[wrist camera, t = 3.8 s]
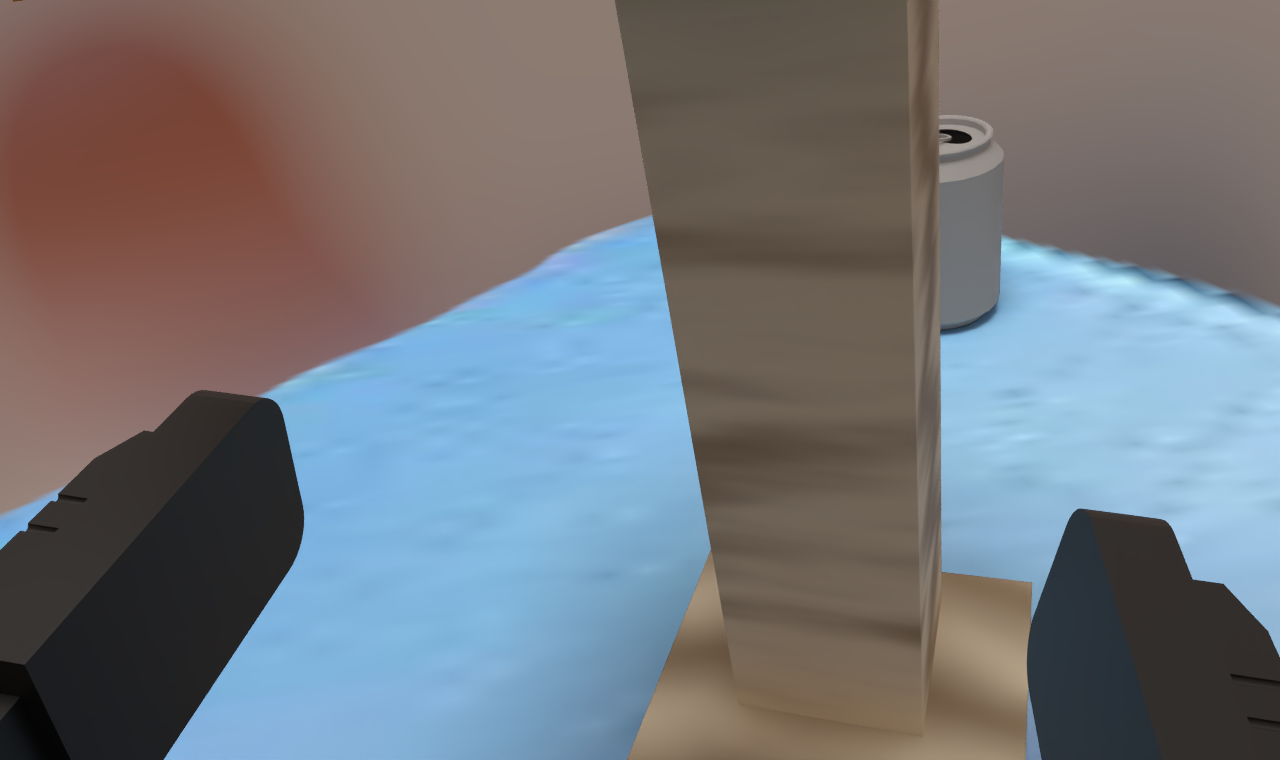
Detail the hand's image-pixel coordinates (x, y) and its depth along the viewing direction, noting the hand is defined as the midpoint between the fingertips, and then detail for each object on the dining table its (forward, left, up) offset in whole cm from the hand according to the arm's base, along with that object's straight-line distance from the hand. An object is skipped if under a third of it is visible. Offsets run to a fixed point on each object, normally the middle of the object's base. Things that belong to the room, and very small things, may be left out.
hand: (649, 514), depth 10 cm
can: (+35, +38, -27) cm, 58 cm away
